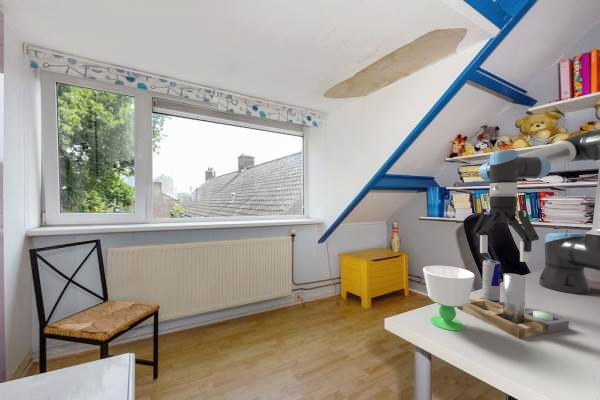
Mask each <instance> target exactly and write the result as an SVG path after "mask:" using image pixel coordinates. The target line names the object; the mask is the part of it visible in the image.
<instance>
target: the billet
mask: <svg viewBox="0 0 600 400" xmlns="http://www.w3.org/2000/svg"><path fill="white" fill-rule="evenodd" d="M502 276H503V277H502V278H503V279H502V280H503V281H502V286H503V288H502V289H503V290H502V293H503V294H502V306H503V319H506V320H508V321H510V322H512V323H515V324H523V323H525V311H526V309H525V308H526V307H525V306H526V303H525V302H526V276H524V275H520V274H517V273H511V272H510V273H503V274H502Z"/></svg>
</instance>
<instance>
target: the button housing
mask: <svg viewBox="0 0 600 400" xmlns="http://www.w3.org/2000/svg"><path fill="white" fill-rule="evenodd" d="M533 311H542V312H544V310H541V309H531V310H525V315H527V316H529V317H532V318H534V319H537V320H539V321H542V322H544V323H547V324H549V333H548V334H552V333H556V332H561V331H562V332H563V331H568V330H569V327H570V322H569V320H568V319H564V318H562V317H560V316H557V315H553V314H551V313H550V314H551V315H552V316H553V321H547V322H546V321H544V320H541V319H539V318H536V317H534V316H533Z"/></svg>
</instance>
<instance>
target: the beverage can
mask: <svg viewBox="0 0 600 400" xmlns="http://www.w3.org/2000/svg"><path fill="white" fill-rule="evenodd" d="M481 298H485V299H487V300H490V301H492V302H495V303H497V304H499V303H500V301H501V262H500V261H498V260H493V259H483V261H482V297H481Z"/></svg>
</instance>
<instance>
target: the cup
mask: <svg viewBox="0 0 600 400" xmlns="http://www.w3.org/2000/svg"><path fill="white" fill-rule="evenodd" d="M422 271H423V276H424V282H425V286H426V290H427V296H428V297H429V299H430V300H431V301H433V302H434V303H435V304H437V305H440V306H439V308H438V313H439V315H435V316H432V317H431V318H430V322H431V323H432V325H434V326H435V327H438V328H440V329H443V330H447V331H451V332H459V331H463V330H464V329H465V328H466V327H465V324H464V323H463V322H462V321H460V320H458V319H456V317H457V312H456V309H455V308H457V307H461V306H464V305H465V304H466V303H467V302H468V301H469V299H470V296H471V293H472V288H473V286H474V281H475V277H476V275H475V274H474V273H473V272H471V271H470V270H469V269H464V268H461V267H456V266H450V265H449V266H448V265H428V266H424V267H423V268H422Z"/></svg>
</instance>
